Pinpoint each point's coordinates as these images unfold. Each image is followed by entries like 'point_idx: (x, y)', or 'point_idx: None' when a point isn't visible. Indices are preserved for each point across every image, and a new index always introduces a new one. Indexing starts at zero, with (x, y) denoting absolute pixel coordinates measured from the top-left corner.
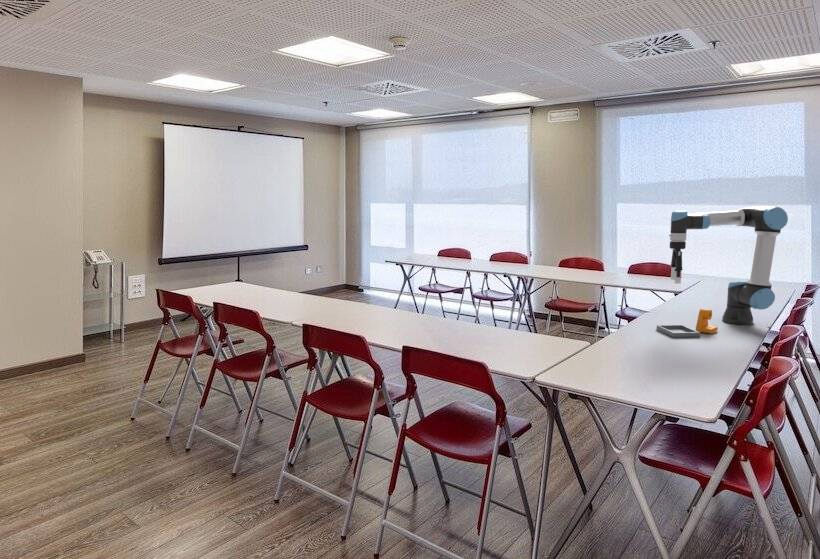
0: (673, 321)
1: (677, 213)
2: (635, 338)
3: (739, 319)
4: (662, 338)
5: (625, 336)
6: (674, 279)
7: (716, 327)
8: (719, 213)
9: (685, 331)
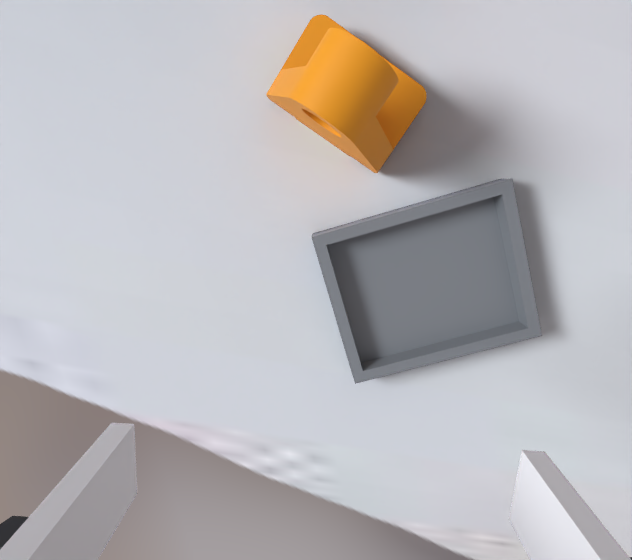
0: (99, 236)
1: None
2: None
3: None
4: (545, 377)
5: None
6: (132, 451)
7: (347, 31)
8: None
9: (393, 234)
